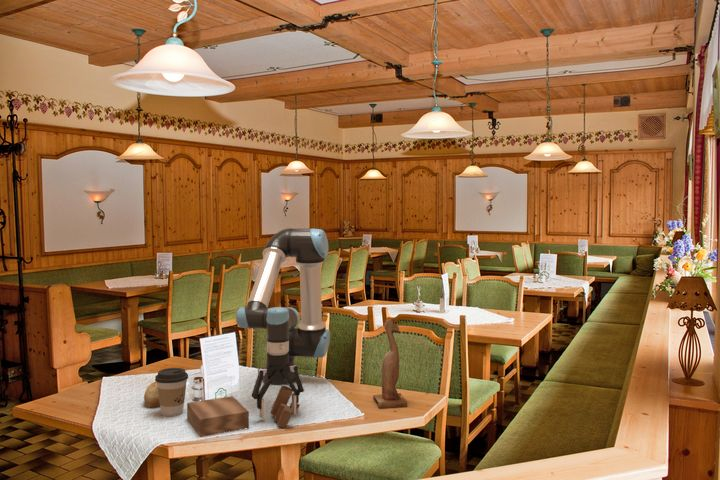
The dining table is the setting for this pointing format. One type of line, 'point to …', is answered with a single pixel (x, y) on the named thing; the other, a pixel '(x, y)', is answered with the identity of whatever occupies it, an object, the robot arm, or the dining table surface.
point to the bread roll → (152, 395)
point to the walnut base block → (217, 416)
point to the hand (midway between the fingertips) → (278, 415)
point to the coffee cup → (171, 390)
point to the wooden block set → (283, 407)
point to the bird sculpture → (390, 373)
